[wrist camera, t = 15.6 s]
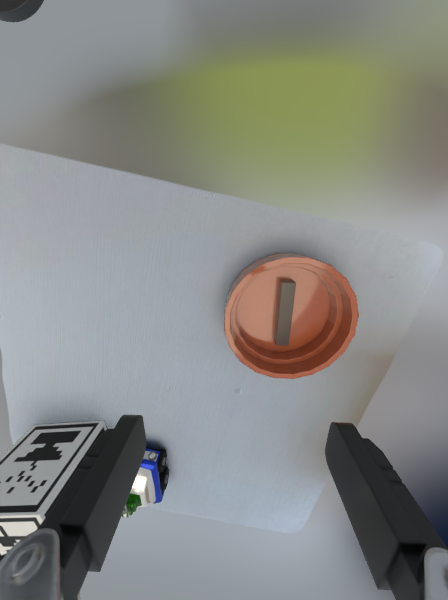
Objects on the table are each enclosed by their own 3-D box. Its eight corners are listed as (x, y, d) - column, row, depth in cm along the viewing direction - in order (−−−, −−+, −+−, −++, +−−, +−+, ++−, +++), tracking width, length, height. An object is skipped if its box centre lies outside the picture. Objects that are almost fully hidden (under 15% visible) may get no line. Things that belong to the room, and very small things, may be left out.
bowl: (227, 251, 32) (225, 255, 27) (348, 254, 31) (371, 258, 26) (225, 355, 37) (223, 376, 32) (328, 359, 37) (344, 381, 31)
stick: (273, 339, 35) (275, 345, 33) (278, 279, 32) (281, 282, 30) (285, 339, 35) (288, 345, 33) (292, 279, 32) (296, 282, 30)
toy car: (165, 440, 44) (147, 494, 35) (170, 481, 47) (155, 540, 38) (120, 438, 44) (91, 491, 35) (129, 479, 48) (105, 537, 39)
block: (59, 476, 49) (-13, 578, 34) (34, 424, 44) (-61, 517, 30) (123, 473, 47) (76, 578, 33) (104, 420, 43) (39, 514, 29)
